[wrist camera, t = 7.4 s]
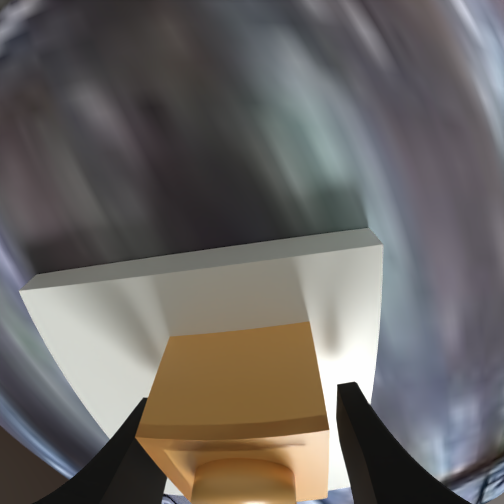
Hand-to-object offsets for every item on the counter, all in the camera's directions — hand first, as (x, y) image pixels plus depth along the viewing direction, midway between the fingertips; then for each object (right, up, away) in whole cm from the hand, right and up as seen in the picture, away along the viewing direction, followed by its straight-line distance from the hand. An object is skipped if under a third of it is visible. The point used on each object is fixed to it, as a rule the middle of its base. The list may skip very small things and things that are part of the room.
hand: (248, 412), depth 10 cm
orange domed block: (0, +1, +2) cm, 2 cm away
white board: (-1, -3, +5) cm, 5 cm away
